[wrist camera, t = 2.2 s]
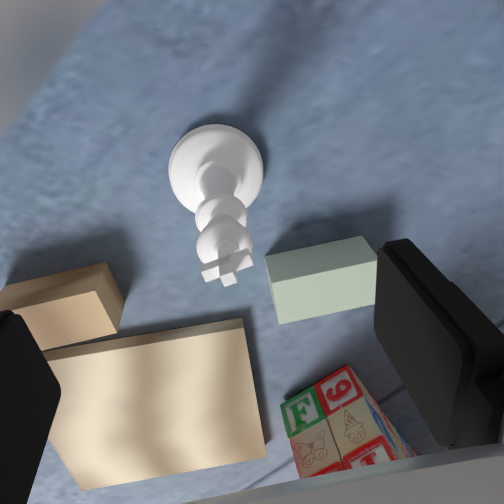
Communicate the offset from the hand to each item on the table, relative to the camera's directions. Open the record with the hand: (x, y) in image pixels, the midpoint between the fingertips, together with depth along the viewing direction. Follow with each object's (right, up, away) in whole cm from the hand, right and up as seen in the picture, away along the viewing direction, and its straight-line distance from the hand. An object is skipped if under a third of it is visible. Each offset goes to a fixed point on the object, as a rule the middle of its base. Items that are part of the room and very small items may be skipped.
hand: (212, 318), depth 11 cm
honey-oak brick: (-10, -1, +13) cm, 17 cm away
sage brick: (+5, +1, +14) cm, 15 cm away
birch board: (-6, -10, +19) cm, 22 cm away
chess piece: (-1, +6, +11) cm, 12 cm away
